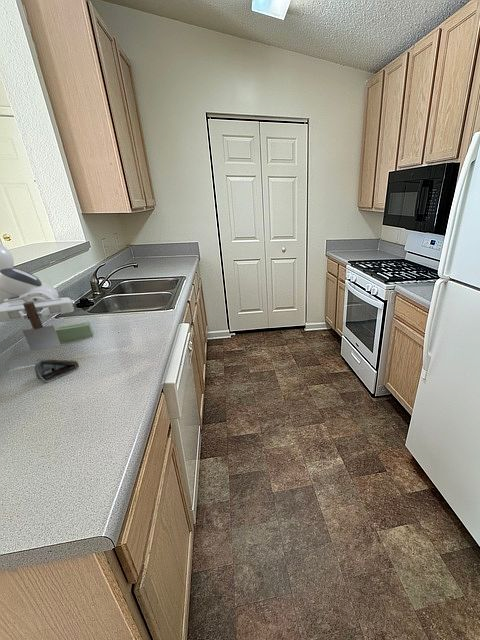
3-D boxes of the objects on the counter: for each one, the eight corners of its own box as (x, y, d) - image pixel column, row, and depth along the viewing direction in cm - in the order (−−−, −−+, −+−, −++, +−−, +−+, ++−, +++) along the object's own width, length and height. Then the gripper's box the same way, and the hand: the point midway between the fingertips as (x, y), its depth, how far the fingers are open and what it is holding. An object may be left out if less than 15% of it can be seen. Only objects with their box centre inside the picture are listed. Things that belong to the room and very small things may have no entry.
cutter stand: (59, 344, 132) (53, 330, 129) (60, 340, 136) (55, 326, 133) (93, 338, 137) (89, 325, 134) (93, 334, 141) (89, 321, 138)
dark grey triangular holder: (70, 364, 117) (32, 351, 108) (81, 362, 114) (42, 348, 104) (60, 389, 114) (19, 378, 105) (70, 389, 110) (29, 377, 101)
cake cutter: (30, 352, 104) (10, 306, 97) (31, 349, 106) (12, 303, 99) (60, 346, 107) (43, 302, 100) (61, 344, 109) (44, 299, 102)
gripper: (78, 308, 117) (75, 320, 107) (6, 318, 109) (-5, 332, 98) (72, 291, 115) (69, 301, 104) (-2, 299, 106) (-14, 312, 95)
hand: (32, 316), depth 101 cm, fingers closed on cake cutter, 2 cm apart
